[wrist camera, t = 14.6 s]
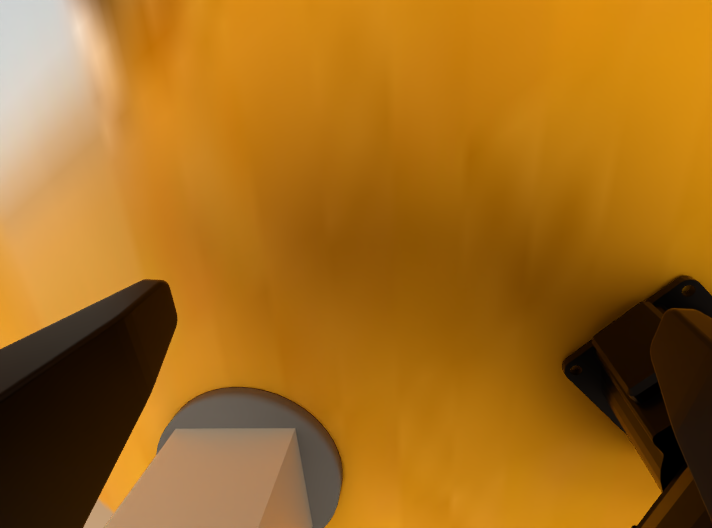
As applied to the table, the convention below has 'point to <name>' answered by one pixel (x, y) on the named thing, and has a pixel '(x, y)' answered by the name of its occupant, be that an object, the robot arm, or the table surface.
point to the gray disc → (272, 412)
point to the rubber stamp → (220, 482)
